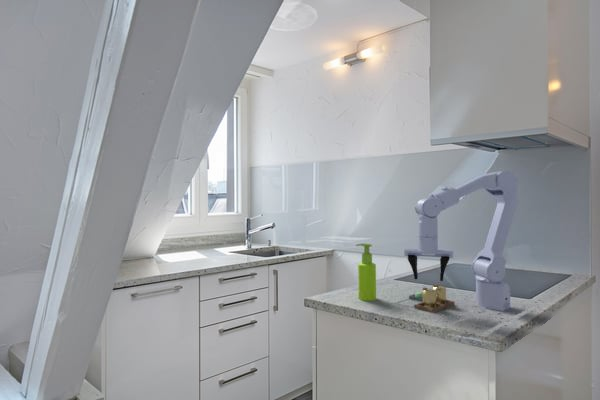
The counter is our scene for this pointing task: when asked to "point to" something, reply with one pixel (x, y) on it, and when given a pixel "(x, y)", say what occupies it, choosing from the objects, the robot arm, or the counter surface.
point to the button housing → (415, 298)
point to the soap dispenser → (367, 275)
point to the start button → (419, 294)
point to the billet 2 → (440, 294)
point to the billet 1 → (429, 297)
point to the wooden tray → (437, 308)
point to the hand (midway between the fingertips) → (428, 279)
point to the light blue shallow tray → (405, 300)
